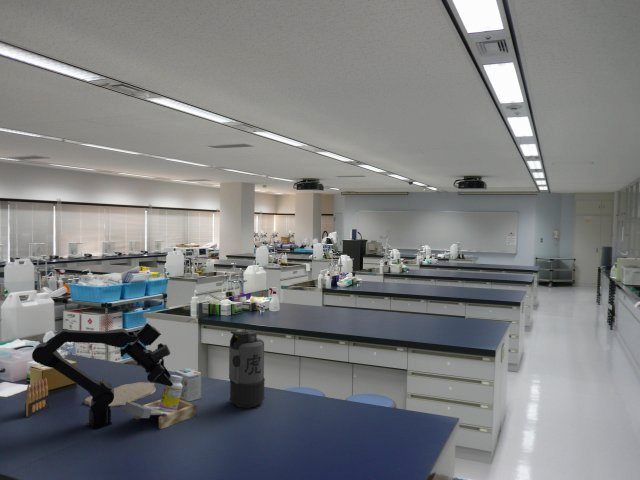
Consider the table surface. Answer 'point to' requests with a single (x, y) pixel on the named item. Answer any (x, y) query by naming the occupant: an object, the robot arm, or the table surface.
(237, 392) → the kanji thermos flask
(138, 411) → the trapdoor
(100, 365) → the table surface
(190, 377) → the light bulb box
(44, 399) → the ammunition clip
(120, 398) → the stone tablet
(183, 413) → the tan framed slab
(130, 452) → the table surface
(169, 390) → the supplement bottle
